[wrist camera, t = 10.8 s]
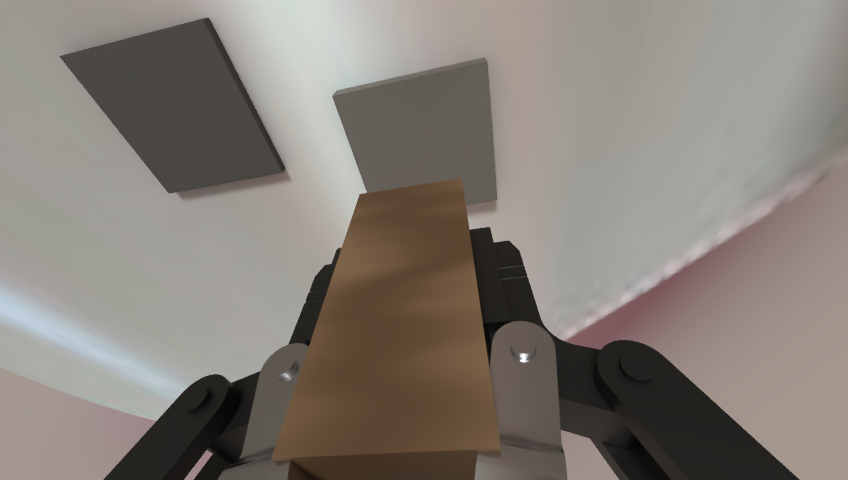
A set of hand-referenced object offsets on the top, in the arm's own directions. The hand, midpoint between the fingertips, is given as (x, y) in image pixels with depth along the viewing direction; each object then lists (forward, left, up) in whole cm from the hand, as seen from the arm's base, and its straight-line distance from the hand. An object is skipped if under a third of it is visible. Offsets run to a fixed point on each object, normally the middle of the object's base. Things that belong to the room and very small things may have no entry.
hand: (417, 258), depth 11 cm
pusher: (0, 0, -2) cm, 2 cm away
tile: (0, -3, -13) cm, 13 cm away
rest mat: (+15, -3, -13) cm, 20 cm away
